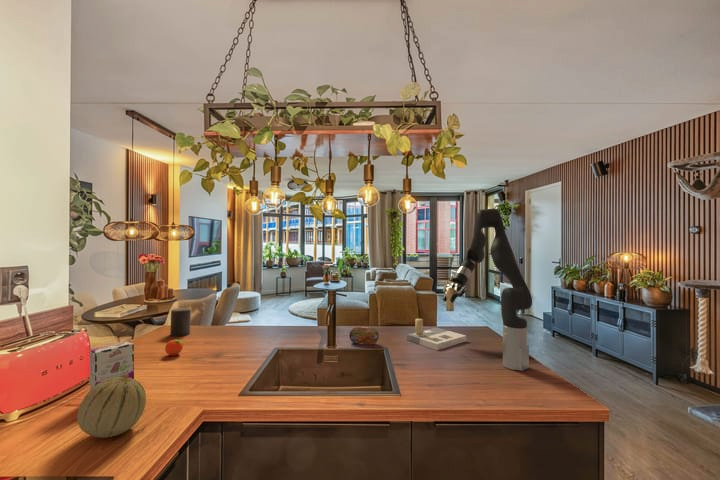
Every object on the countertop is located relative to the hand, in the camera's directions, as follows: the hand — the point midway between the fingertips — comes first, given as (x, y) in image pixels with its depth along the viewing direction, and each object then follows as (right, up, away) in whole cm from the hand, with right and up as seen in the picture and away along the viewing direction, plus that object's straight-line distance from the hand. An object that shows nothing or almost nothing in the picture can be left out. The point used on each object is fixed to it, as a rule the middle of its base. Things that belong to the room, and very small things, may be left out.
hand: (447, 300), depth 171 cm
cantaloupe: (-112, -20, -83) cm, 141 cm away
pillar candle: (-145, -20, +10) cm, 147 cm away
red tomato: (-130, -20, -23) cm, 133 cm away
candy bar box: (-129, -20, -62) cm, 144 cm away
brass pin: (+2, -5, +1) cm, 6 cm away
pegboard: (-5, -22, +3) cm, 22 cm away
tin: (-44, -21, -3) cm, 49 cm away
